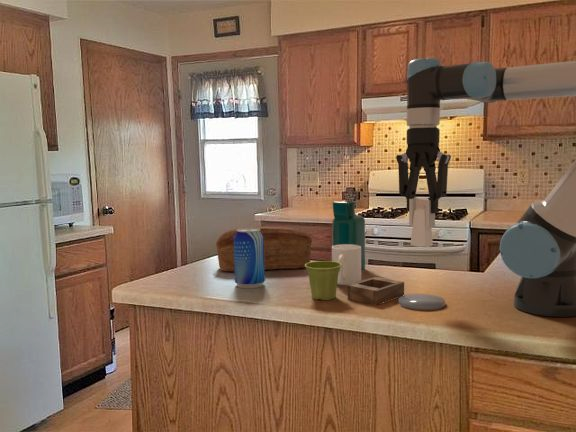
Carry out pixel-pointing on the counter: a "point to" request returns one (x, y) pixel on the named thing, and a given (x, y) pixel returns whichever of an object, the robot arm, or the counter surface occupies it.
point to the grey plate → (421, 302)
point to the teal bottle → (348, 227)
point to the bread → (270, 248)
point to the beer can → (249, 258)
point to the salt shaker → (421, 226)
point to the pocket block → (375, 290)
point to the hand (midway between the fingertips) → (421, 225)
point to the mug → (348, 263)
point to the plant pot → (323, 278)
